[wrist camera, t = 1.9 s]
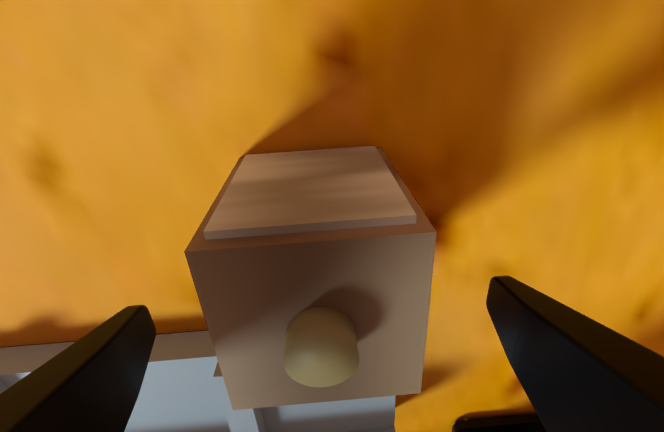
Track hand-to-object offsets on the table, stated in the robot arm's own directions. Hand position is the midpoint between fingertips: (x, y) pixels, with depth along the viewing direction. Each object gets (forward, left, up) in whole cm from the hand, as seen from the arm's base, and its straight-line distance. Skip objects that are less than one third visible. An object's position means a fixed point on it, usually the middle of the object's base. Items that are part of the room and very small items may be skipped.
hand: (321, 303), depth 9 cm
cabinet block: (0, 0, -5) cm, 5 cm away
